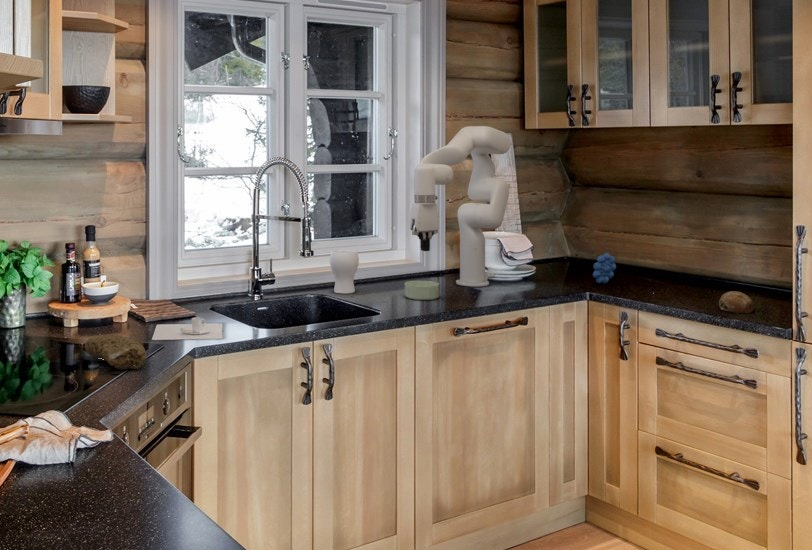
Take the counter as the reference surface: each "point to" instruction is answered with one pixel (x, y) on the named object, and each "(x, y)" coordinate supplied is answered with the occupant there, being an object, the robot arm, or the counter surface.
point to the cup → (344, 269)
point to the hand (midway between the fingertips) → (425, 250)
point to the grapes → (604, 268)
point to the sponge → (116, 350)
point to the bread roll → (736, 302)
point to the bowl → (421, 290)
